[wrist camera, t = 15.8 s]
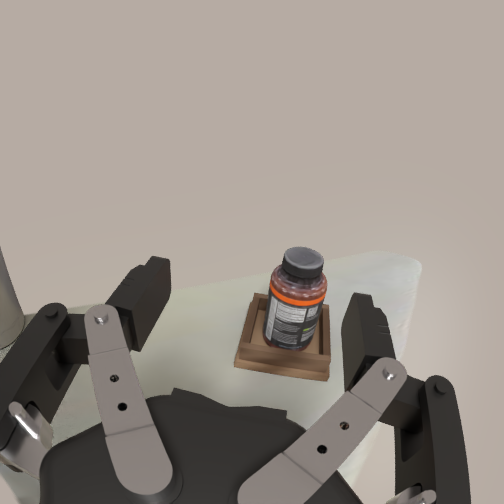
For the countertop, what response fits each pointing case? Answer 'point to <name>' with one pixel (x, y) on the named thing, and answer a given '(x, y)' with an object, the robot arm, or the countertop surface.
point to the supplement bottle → (295, 300)
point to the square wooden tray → (281, 360)
